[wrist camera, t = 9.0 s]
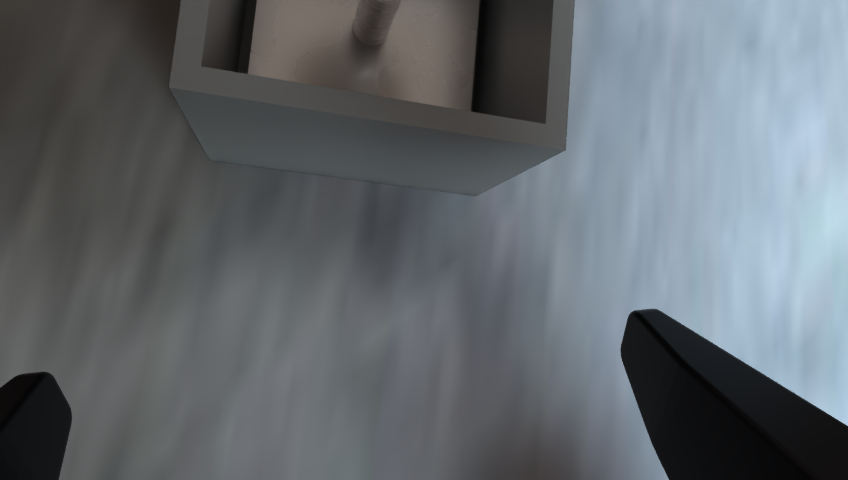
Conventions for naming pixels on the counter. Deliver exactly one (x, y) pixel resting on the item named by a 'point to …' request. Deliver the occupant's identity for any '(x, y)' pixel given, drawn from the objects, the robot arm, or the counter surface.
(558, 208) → the counter surface
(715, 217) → the counter surface
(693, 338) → the robot arm
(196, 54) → the grey open box
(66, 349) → the counter surface
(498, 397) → the counter surface
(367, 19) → the plunger
